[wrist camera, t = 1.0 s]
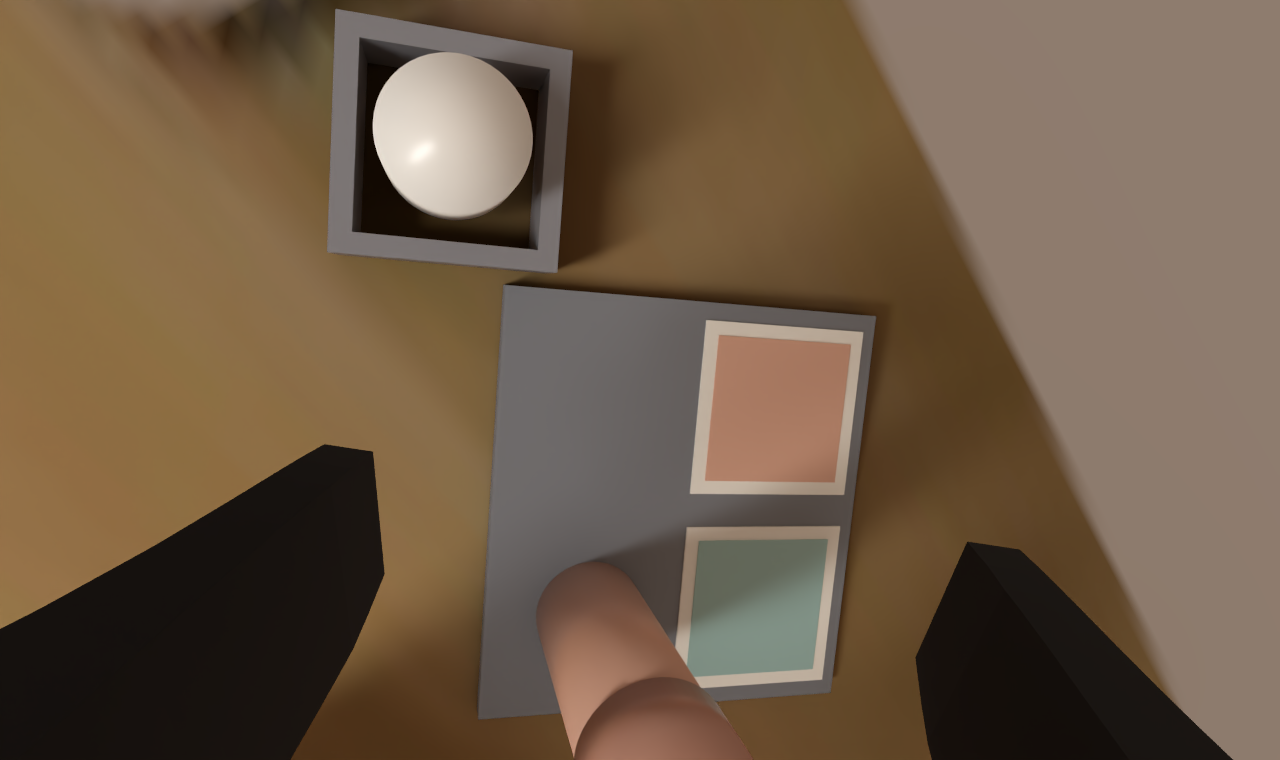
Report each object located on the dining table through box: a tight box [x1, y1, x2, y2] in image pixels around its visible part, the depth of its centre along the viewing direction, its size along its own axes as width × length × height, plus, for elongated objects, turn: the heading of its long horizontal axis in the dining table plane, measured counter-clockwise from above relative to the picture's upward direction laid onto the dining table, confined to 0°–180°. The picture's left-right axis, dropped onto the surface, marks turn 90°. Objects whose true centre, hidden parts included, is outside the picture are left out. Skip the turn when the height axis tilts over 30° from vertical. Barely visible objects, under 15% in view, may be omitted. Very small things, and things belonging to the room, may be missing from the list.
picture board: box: [477, 285, 876, 720], centre depth 21 cm, size 12×11×1 cm
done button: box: [373, 52, 533, 220], centre depth 16 cm, size 3×3×2 cm
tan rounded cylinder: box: [536, 562, 753, 760], centre depth 17 cm, size 3×3×8 cm
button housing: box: [327, 9, 573, 273], centre depth 18 cm, size 5×5×2 cm
